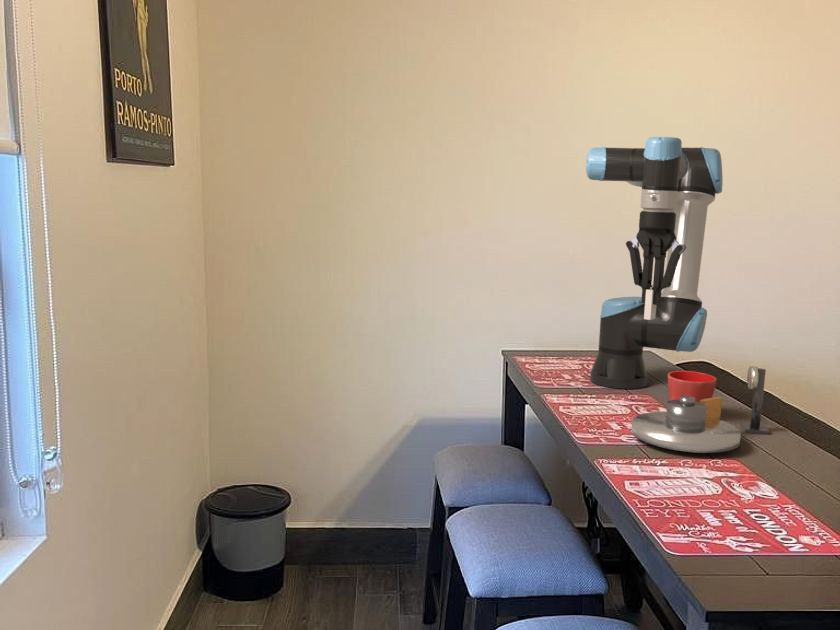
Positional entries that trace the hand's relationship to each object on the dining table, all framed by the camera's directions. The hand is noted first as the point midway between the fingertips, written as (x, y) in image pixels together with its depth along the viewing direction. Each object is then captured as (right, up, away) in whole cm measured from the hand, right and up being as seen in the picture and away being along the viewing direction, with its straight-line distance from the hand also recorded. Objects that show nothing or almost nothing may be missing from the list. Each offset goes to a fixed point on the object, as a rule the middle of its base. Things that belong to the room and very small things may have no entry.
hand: (649, 318), depth 183 cm
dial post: (+24, -25, +3) cm, 35 cm away
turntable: (+6, -25, -6) cm, 26 cm away
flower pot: (+13, -23, +13) cm, 29 cm away
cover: (+6, -23, -7) cm, 25 cm away
